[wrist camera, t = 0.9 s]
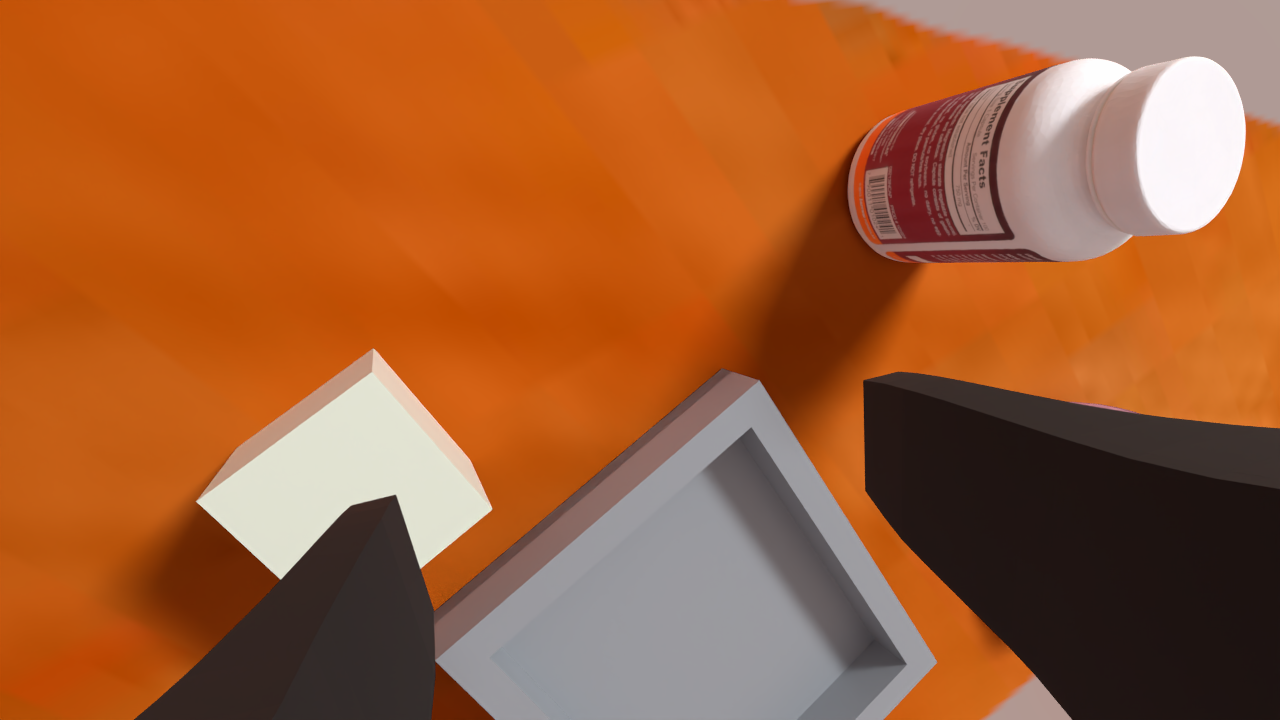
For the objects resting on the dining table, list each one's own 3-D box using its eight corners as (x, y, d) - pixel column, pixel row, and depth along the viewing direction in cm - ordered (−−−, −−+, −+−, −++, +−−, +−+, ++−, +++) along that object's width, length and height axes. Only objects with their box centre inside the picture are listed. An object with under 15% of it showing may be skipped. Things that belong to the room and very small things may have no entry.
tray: (669, 857, 29) (697, 916, 26) (428, 616, 23) (435, 660, 21) (891, 629, 31) (937, 662, 29) (722, 368, 26) (759, 380, 24)
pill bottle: (978, 170, 30) (1293, 122, 19) (913, 289, 29) (1199, 305, 19) (888, 80, 27) (1192, -28, 17) (815, 209, 27) (1082, 177, 17)
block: (348, 556, 22) (340, 634, 18) (237, 447, 21) (196, 501, 16) (469, 459, 23) (492, 509, 19) (373, 347, 22) (371, 371, 17)
